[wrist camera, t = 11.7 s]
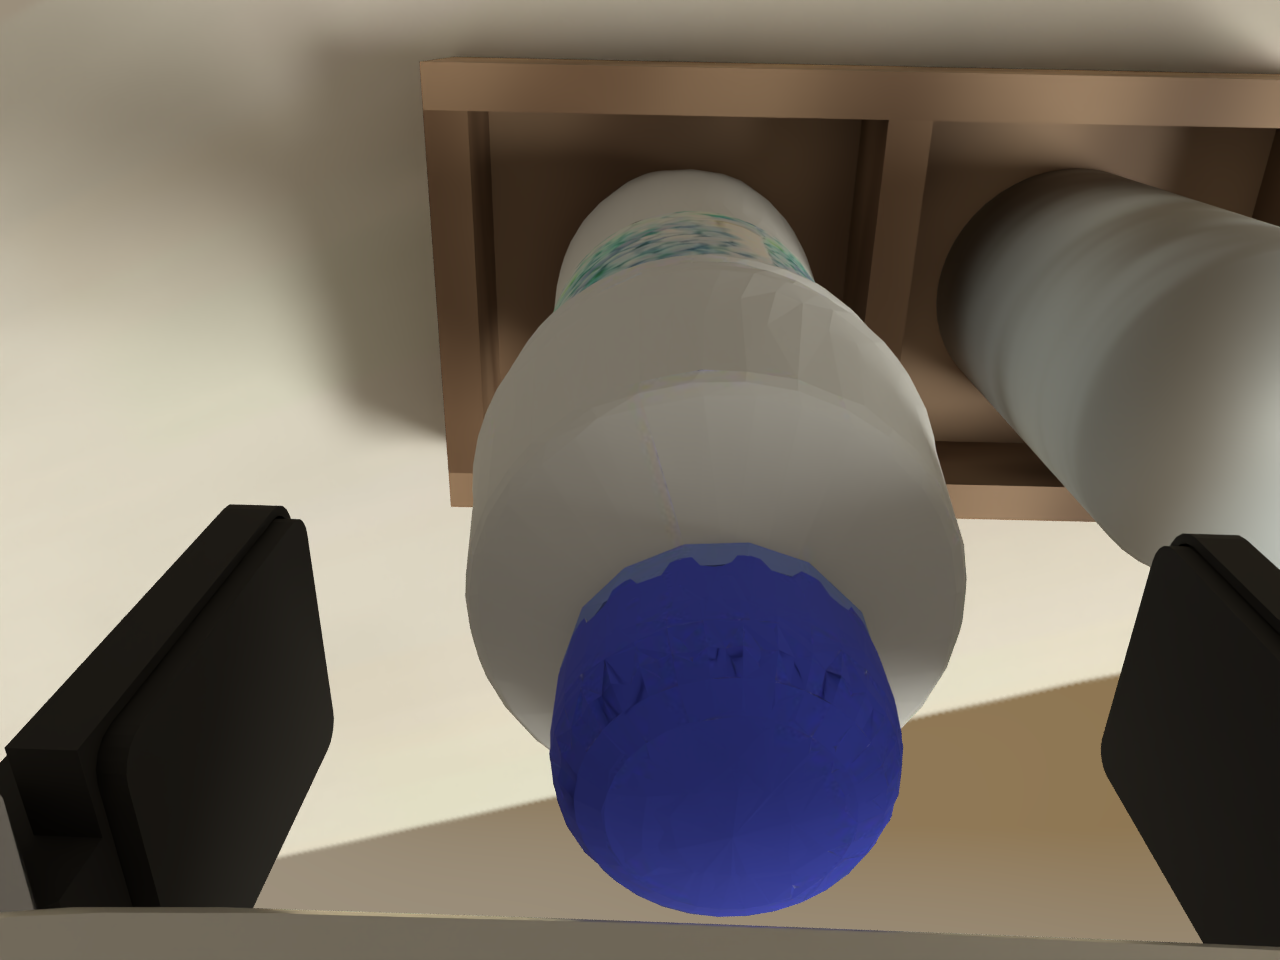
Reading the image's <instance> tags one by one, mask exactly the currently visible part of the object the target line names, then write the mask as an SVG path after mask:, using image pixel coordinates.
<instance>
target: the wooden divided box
mask: <svg viewBox="0 0 1280 960" xmlns="http://www.w3.org/2000/svg"><path fill="white" fill-rule="evenodd" d="M420 75H421V89H422V103H423V118H424V132H425V146H426V160H427V174H428V188H429V202H430V216H431V230H432V244H433V259H434V273H435V287H436V301H437V315H438V329H439V343H440V357H441V371H442V385H443V400H444V414H445V428H446V442H447V456H448V470H449V484H450V498H451V507H473V491H472V485H473V462H474V457H475V451H476V445H477V440H478V435H479V432H480V429H481V426H482V423H483V420H484V417H485V414H486V411H487V409H488V407H489V405H490V403H491V401H492V398H493V396H494V394H495V392H496V390H497V388H498V387H499V385H500V384H501V382H502V381H503V379H504V378H505V376H506V375H507V373H508V372H509V370H510V368H511V366H512V365H513V363H514V362H515V360H516V359H517V357H518V355H519V354H520V352H521V351H522V349H523V348H524V346H525V345H526V343H527V341H528V340H529V339H530V338H531V336H532V335H533V334H534V333H535V331H536V330H537V329H538V327H539V326H540V325H541V324H542V323H543V322H544V321H545V320H546V319H547V318H548V317H549V316H550V315H551V314H552V313H553V312H554V307H555V298H556V289H557V283H558V279H559V274H560V270H561V266H562V263H563V260H564V256H565V254H566V252H567V249H568V247H569V245H570V242H571V240H572V239H573V237H574V235H575V234H576V232H577V231H578V229H579V227H580V226H581V224H582V222H583V221H584V220H585V218H586V217H587V216H588V215H589V214H590V213H591V212H592V211H593V210H594V209H595V208H596V207H597V205H598V204H599V203H600V202H602V201H603V200H604V199H606V198H607V197H608V196H610V195H611V194H612V193H613V192H615V191H616V190H617V189H619V188H620V187H621V186H623V185H624V184H625V183H627V182H629V181H631V180H633V179H635V178H637V177H639V176H642V175H644V174H647V173H650V172H655V171H664V170H687V169H694V170H701V171H708V172H715V173H722V174H725V175H728V176H730V177H733V178H735V179H738V180H741V181H742V182H744V183H745V184H747V185H748V186H750V187H751V188H752V189H754V190H755V191H757V192H758V193H759V194H761V195H762V196H763V197H765V198H766V199H767V200H768V201H769V202H770V203H771V204H772V205H773V206H774V207H775V208H776V209H777V210H778V211H779V213H780V214H781V215H782V216H783V217H784V218H785V219H786V220H787V222H788V223H789V225H790V226H791V228H792V229H793V231H794V232H795V234H796V236H797V238H798V240H799V242H800V244H801V246H802V248H803V250H804V252H805V255H806V257H807V260H808V263H809V266H810V269H811V272H812V274H813V277H814V281H815V283H817V284H819V285H820V286H822V287H823V288H825V289H826V290H827V291H829V292H830V293H831V294H833V295H834V296H835V297H836V298H838V299H839V300H840V301H841V302H843V303H844V304H845V305H847V306H848V307H849V308H850V309H851V310H853V311H854V312H855V313H856V314H857V315H858V317H859V318H860V319H861V320H862V321H863V322H864V323H865V324H866V325H867V327H868V328H869V329H871V330H872V331H873V332H874V333H875V334H876V335H877V336H878V337H879V338H880V339H882V340H883V341H884V342H885V344H886V345H887V346H888V347H889V349H890V350H891V351H892V352H893V354H894V355H895V356H896V357H897V359H898V360H899V361H900V363H901V364H902V366H903V367H904V368H905V370H906V371H907V373H908V374H909V376H910V378H911V380H912V382H913V384H914V386H915V388H916V390H917V392H918V394H919V396H920V398H921V400H922V402H923V404H924V406H925V408H926V410H927V414H928V417H929V421H930V424H931V428H932V431H933V435H934V440H935V447H936V453H937V456H938V459H939V463H940V466H941V469H942V473H943V476H944V480H945V483H946V486H947V490H948V493H949V496H950V500H951V503H952V507H953V510H954V513H955V517H956V518H957V519H999V520H1042V521H1084V522H1097V523H1098V524H1099V526H1100V527H1101V528H1102V529H1103V530H1104V531H1105V532H1106V533H1107V535H1108V536H1109V537H1110V538H1111V539H1112V540H1113V541H1114V542H1115V543H1116V544H1117V545H1118V546H1119V547H1120V548H1121V549H1122V550H1124V551H1125V552H1127V553H1128V554H1129V555H1131V556H1132V557H1134V558H1135V559H1136V560H1138V561H1140V562H1142V563H1143V564H1145V565H1147V566H1149V567H1151V565H1152V561H1153V558H1154V556H1155V553H1156V552H1157V551H1158V550H1159V548H1161V547H1163V546H1170V545H1171V543H1172V542H1173V540H1174V539H1175V538H1176V537H1177V536H1179V535H1181V534H1182V533H1186V534H1219V535H1240V536H1241V537H1243V538H1245V539H1246V540H1247V541H1249V542H1250V543H1251V544H1252V545H1253V546H1254V547H1255V548H1256V549H1257V550H1259V551H1260V552H1261V553H1262V554H1263V555H1264V556H1265V557H1266V558H1267V559H1269V560H1270V561H1271V562H1272V563H1273V564H1274V565H1275V566H1276V567H1277V568H1278V569H1280V74H1241V73H1193V72H1146V71H1098V70H1051V69H1003V68H956V67H908V66H861V65H813V64H766V63H718V62H671V61H623V60H576V59H528V58H481V57H450V58H443V59H435V60H428V61H421V62H420Z"/></svg>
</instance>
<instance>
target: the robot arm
mask: <svg viewBox="0 0 1280 960" xmlns="http://www.w3.org/2000/svg"><path fill="white" fill-rule="evenodd" d="M333 723H334V717H333V707H332V700H331V694H330V687H329V680H328V673H327V666H326V659H325V652H324V646H323V639H322V632H321V625H320V618H319V611H318V605H317V598H316V591H315V584H314V577H313V570H312V563H311V557H310V550H309V543H308V536H307V531H306V527H305V525H304V523H303V521H301V520H300V519H291V518H290V515H289V513H288V511H287V509H285V508H284V507H283V506H265V505H228V506H227V507H226V508H224V509H223V510H222V511H221V513H220V514H219V515H218V516H217V517H216V518H215V519H214V520H213V521H212V522H211V523H210V525H209V526H208V527H207V528H206V529H205V530H204V531H203V532H202V533H201V534H200V535H199V537H198V538H197V539H196V540H195V541H194V542H193V543H192V544H191V545H190V546H189V547H188V549H187V550H186V551H185V552H184V553H183V554H182V555H181V556H180V557H179V558H178V559H177V561H176V562H175V563H174V564H173V565H172V566H171V567H170V568H169V569H168V570H167V571H166V573H165V574H164V575H163V576H162V577H161V578H160V579H159V580H158V581H157V582H156V583H155V585H154V586H153V587H152V588H151V589H150V590H149V591H148V592H147V593H146V594H145V595H144V596H143V598H142V599H141V600H140V601H139V602H138V603H137V604H136V605H135V606H134V607H133V608H132V610H131V611H130V612H129V613H128V614H127V615H126V616H125V617H124V618H123V619H122V620H121V622H120V623H119V624H118V625H117V626H116V627H115V628H114V629H113V630H112V631H111V632H110V634H109V635H108V636H107V637H106V638H105V639H104V640H103V641H102V642H101V643H100V644H99V646H98V647H97V648H96V649H95V650H94V651H93V652H92V653H91V654H90V655H89V656H88V658H87V659H86V660H85V661H84V662H83V663H82V664H81V665H80V666H79V667H78V668H77V670H76V671H75V672H74V673H73V674H72V675H71V676H70V677H69V678H68V679H67V680H66V681H65V683H64V684H63V685H62V686H61V687H60V688H59V689H58V690H57V691H56V692H55V693H54V695H53V696H52V697H51V698H50V699H49V700H48V701H47V702H46V703H45V704H44V705H43V707H42V708H41V709H40V710H39V711H38V712H37V713H36V714H35V715H34V716H33V717H32V719H31V720H30V721H29V722H28V723H27V724H26V725H25V726H24V727H23V728H22V729H21V731H20V732H19V733H18V734H17V735H16V736H15V737H14V738H13V739H12V740H11V741H10V743H9V744H8V745H7V746H6V747H5V751H6V754H7V756H6V757H5V758H4V759H3V760H2V761H1V762H0V960H1280V569H1278V568H1277V567H1276V566H1275V565H1274V564H1273V563H1272V562H1271V561H1270V560H1269V559H1267V558H1266V557H1265V556H1264V555H1263V554H1262V553H1261V552H1260V551H1259V550H1257V549H1256V548H1255V547H1254V546H1253V545H1252V544H1251V543H1250V542H1249V541H1247V540H1246V539H1245V538H1243V537H1241V536H1240V535H1219V534H1186V533H1182V534H1181V535H1179V536H1177V537H1176V538H1175V539H1174V540H1173V542H1172V543H1171V545H1170V546H1163V547H1161V548H1159V550H1158V551H1157V552H1156V553H1155V556H1154V558H1153V561H1152V565H1151V568H1150V572H1149V575H1148V579H1147V582H1146V586H1145V589H1144V593H1143V597H1142V600H1141V604H1140V607H1139V611H1138V614H1137V618H1136V621H1135V625H1134V628H1133V632H1132V635H1131V639H1130V642H1129V646H1128V650H1127V653H1126V657H1125V660H1124V664H1123V667H1122V671H1121V674H1120V678H1119V681H1118V685H1117V688H1116V692H1115V695H1114V699H1113V703H1112V706H1111V710H1110V713H1109V717H1108V720H1107V724H1106V727H1105V731H1104V735H1103V738H1102V743H1101V757H1102V763H1103V767H1104V770H1105V773H1106V775H1107V777H1108V779H1109V781H1110V782H1111V784H1112V785H1113V787H1114V789H1115V791H1116V793H1117V794H1118V796H1119V798H1120V800H1121V801H1122V803H1123V805H1124V807H1125V808H1126V810H1127V812H1128V813H1129V815H1130V817H1131V819H1132V820H1133V822H1134V824H1135V826H1136V827H1137V829H1138V831H1139V832H1140V834H1141V836H1142V838H1143V839H1144V841H1145V843H1146V845H1147V846H1148V848H1149V850H1150V852H1151V853H1152V855H1153V857H1154V859H1155V860H1156V862H1157V864H1158V866H1159V867H1160V869H1161V871H1162V873H1163V874H1164V876H1165V878H1166V879H1167V881H1168V883H1169V885H1170V886H1171V888H1172V890H1173V891H1174V893H1175V895H1176V897H1177V899H1178V900H1179V902H1180V904H1181V905H1182V907H1183V909H1184V911H1185V912H1186V914H1187V916H1188V918H1189V919H1190V921H1191V923H1192V924H1193V926H1194V928H1195V930H1196V932H1197V933H1198V935H1199V937H1200V938H1201V940H1202V942H1203V944H1199V943H1177V942H1155V941H1153V942H1152V941H1132V940H1109V939H1083V938H1082V939H1081V938H1057V937H1032V936H1006V935H980V934H954V933H929V932H904V931H878V930H852V929H826V928H800V927H774V926H747V925H720V924H719V925H718V924H694V923H667V922H666V923H665V922H640V921H614V920H587V919H560V918H558V919H557V918H532V917H504V916H503V917H502V916H474V915H443V914H411V913H382V912H351V911H321V910H291V909H259V908H253V907H254V905H255V903H256V900H257V898H258V896H259V894H260V892H261V890H262V888H263V885H264V884H265V881H266V879H267V877H268V875H269V873H270V871H271V869H272V866H273V864H274V862H275V860H276V858H277V856H278V854H279V852H280V850H281V848H282V845H283V843H284V841H285V839H286V837H287V835H288V833H289V831H290V828H291V826H292V824H293V822H294V820H295V818H296V816H297V814H298V812H299V809H300V807H301V805H302V803H303V801H304V799H305V797H306V795H307V792H308V790H309V788H310V786H311V784H312V782H313V780H314V778H315V776H316V773H317V771H318V769H319V767H320V765H321V763H322V761H323V759H324V756H325V754H326V752H327V750H328V748H329V745H330V742H331V738H332V733H333Z"/></svg>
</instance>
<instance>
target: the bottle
mask: <svg viewBox="0 0 1280 960" xmlns="http://www.w3.org/2000/svg"><path fill="white" fill-rule="evenodd" d="M472 491H473V511H472V521H471V530H470V540H469V550H468V560H467V570H466V593H465V597H466V604H467V610H468V617H469V623H470V629H471V633H472V637H473V640H474V644H475V647H476V650H477V653H478V657H479V660H480V662H481V664H482V667H483V669H484V672H485V674H486V676H487V678H488V680H489V681H490V683H491V685H492V686H493V688H494V689H495V691H496V693H497V694H498V696H499V697H500V699H501V701H502V702H503V704H504V705H505V707H506V708H507V709H508V710H509V711H510V712H511V713H512V715H513V716H514V717H515V718H516V719H517V720H518V721H519V722H520V723H521V724H522V725H523V726H524V727H525V729H526V730H527V731H528V732H529V733H530V734H531V735H532V736H533V737H534V738H535V739H536V740H537V741H538V742H540V743H541V744H542V745H544V746H545V747H546V748H548V749H549V750H550V753H549V755H550V761H551V768H552V777H553V784H554V788H555V791H556V796H557V801H558V804H559V806H560V809H561V812H562V814H563V817H564V820H565V822H566V825H567V827H568V828H569V830H570V831H571V833H572V834H573V836H574V837H575V839H576V840H577V842H578V843H579V845H580V846H581V847H582V849H583V850H584V852H585V853H586V854H587V855H588V856H590V857H591V858H592V859H593V860H594V861H595V862H596V863H598V864H599V866H600V867H601V868H602V869H603V870H604V871H605V872H606V873H607V874H608V875H609V876H610V877H612V878H613V879H614V880H615V881H616V882H618V883H619V884H621V885H623V886H624V887H626V888H627V889H629V890H630V891H632V892H633V893H635V894H636V895H638V896H640V897H642V898H645V899H647V900H649V901H652V902H654V903H656V904H658V905H661V906H663V907H667V908H671V909H675V910H679V911H682V912H686V913H690V914H699V915H708V916H717V917H721V916H722V917H723V916H748V915H754V914H760V913H766V912H772V911H776V910H779V909H782V908H786V907H789V906H792V905H795V904H798V903H801V902H803V901H805V900H807V899H809V898H811V897H813V896H815V895H817V894H819V893H821V892H823V891H825V890H827V889H828V888H829V887H831V886H832V885H834V884H835V883H836V882H838V881H839V880H840V879H841V878H843V877H844V876H846V875H847V874H849V873H850V871H851V870H852V869H853V868H854V867H855V866H856V865H857V864H858V862H860V860H861V859H862V858H863V857H864V856H865V855H866V854H867V853H868V852H869V851H870V850H871V848H872V847H873V846H874V845H875V843H876V841H877V839H878V837H879V836H880V834H881V832H882V831H883V829H884V828H885V826H886V824H887V823H888V822H889V821H890V818H891V816H892V811H893V806H894V803H895V801H896V799H897V797H898V794H899V786H900V778H901V768H902V754H903V744H902V736H901V735H902V733H901V728H902V727H903V726H904V725H905V724H906V723H907V722H908V721H909V720H910V719H911V718H912V717H913V715H914V714H915V713H916V712H917V711H918V710H919V709H920V708H921V707H922V706H923V704H924V703H925V701H926V699H927V698H928V696H929V695H930V693H931V691H932V690H933V688H934V687H935V685H936V684H937V682H938V680H939V679H940V677H941V676H942V674H943V672H944V671H945V669H946V668H947V665H948V662H949V659H950V657H951V654H952V651H953V648H954V646H955V643H956V640H957V637H958V635H959V632H960V628H961V625H962V619H963V610H964V601H965V592H966V566H965V554H964V544H963V540H962V537H961V534H960V530H959V527H958V523H957V520H956V517H955V513H954V510H953V507H952V503H951V500H950V496H949V493H948V490H947V486H946V483H945V480H944V476H943V473H942V469H941V466H940V463H939V459H938V456H937V453H936V447H935V440H934V435H933V431H932V428H931V424H930V421H929V417H928V414H927V410H926V408H925V406H924V404H923V402H922V400H921V398H920V396H919V394H918V392H917V390H916V388H915V386H914V384H913V382H912V380H911V378H910V376H909V374H908V373H907V371H906V370H905V368H904V367H903V366H902V364H901V363H900V361H899V360H898V359H897V357H896V356H895V355H894V354H893V352H892V351H891V350H890V349H889V347H888V346H887V345H886V344H885V342H884V341H883V340H882V339H880V338H879V337H878V336H877V335H876V334H875V333H874V332H873V331H872V330H871V329H869V328H868V327H867V325H866V324H865V323H864V322H863V321H862V320H861V319H860V318H859V317H858V315H857V314H856V313H855V312H854V311H853V310H851V309H850V308H849V307H848V306H847V305H845V304H844V303H843V302H841V301H840V300H839V299H838V298H836V297H835V296H834V295H833V294H831V293H830V292H829V291H827V290H826V289H825V288H823V287H822V286H820V285H819V284H817V283H815V281H814V277H813V274H812V272H811V269H810V266H809V263H808V260H807V257H806V255H805V252H804V250H803V248H802V246H801V244H800V242H799V240H798V238H797V236H796V234H795V232H794V231H793V229H792V228H791V226H790V225H789V223H788V222H787V220H786V219H785V218H784V217H783V216H782V215H781V214H780V213H779V211H778V210H777V209H776V208H775V207H774V206H773V205H772V204H771V203H770V202H769V201H768V200H767V199H766V198H765V197H763V196H762V195H761V194H759V193H758V192H757V191H755V190H754V189H752V188H751V187H750V186H748V185H747V184H745V183H744V182H742V181H741V180H738V179H735V178H733V177H730V176H728V175H725V174H722V173H715V172H708V171H701V170H694V169H687V170H664V171H655V172H650V173H647V174H644V175H642V176H639V177H637V178H635V179H633V180H631V181H629V182H627V183H625V184H624V185H623V186H621V187H620V188H619V189H617V190H616V191H615V192H613V193H612V194H611V195H610V196H608V197H607V198H606V199H604V200H603V201H602V202H600V203H599V204H598V205H597V207H596V208H595V209H594V210H593V211H592V212H591V213H590V214H589V215H588V216H587V217H586V218H585V220H584V221H583V222H582V224H581V226H580V227H579V229H578V231H577V232H576V234H575V235H574V237H573V239H572V240H571V242H570V245H569V247H568V249H567V252H566V254H565V256H564V260H563V263H562V266H561V270H560V274H559V279H558V283H557V289H556V298H555V307H554V312H553V313H552V314H551V315H550V316H549V317H548V318H547V319H546V320H545V321H544V322H543V323H542V324H541V325H540V326H539V327H538V329H537V330H536V331H535V333H534V334H533V335H532V336H531V338H530V339H529V340H528V341H527V343H526V345H525V346H524V348H523V349H522V351H521V352H520V354H519V355H518V357H517V359H516V360H515V362H514V363H513V365H512V366H511V368H510V370H509V372H508V373H507V375H506V376H505V378H504V379H503V381H502V382H501V384H500V385H499V387H498V388H497V390H496V392H495V394H494V396H493V398H492V401H491V403H490V405H489V407H488V409H487V411H486V414H485V417H484V420H483V423H482V426H481V429H480V432H479V435H478V440H477V445H476V451H475V457H474V462H473V485H472Z"/></svg>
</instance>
